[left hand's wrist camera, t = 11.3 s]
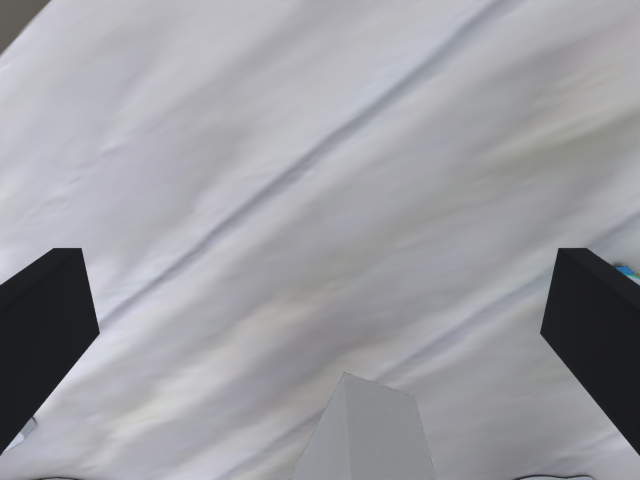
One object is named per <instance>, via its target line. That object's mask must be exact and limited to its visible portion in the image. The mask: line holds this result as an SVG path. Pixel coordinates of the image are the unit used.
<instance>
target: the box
mask: <svg viewBox="0 0 640 480" xmlns="http://www.w3.org/2000/svg"><path fill="white" fill-rule="evenodd" d="M288 480H437V478H436V474H435V471H434V467H433V463H432V460H431V456H430V452H429V449H428V445H427V441H426V438H425V434H424V431H423V427H422V423H421V420H420V416H419V412H418V409H417V405H416V401H415V398H414V396H411V395H408V394H406V393H403V392H400V391H397V390H394V389H391V388H388V387H385V386H382V385H380V384H377V383H374V382H371V381H368V380H365V379H362V378H359V377H356V376H354V375H351V374H348V373H345V372H344V374H343V376H342V378H341V380H340V382H339V383H338V385H337V387H336V389H335V391H334V393H333V395H332V397H331V399H330V401H329V403H328V405H327V406H326V408H325V410H324V412H323V414H322V416H321V418H320V420H319V422H318V424H317V426H316V428H315V429H314V431H313V433H312V435H311V437H310V439H309V441H308V443H307V445H306V447H305V449H304V451H303V452H302V454H301V456H300V458H299V460H298V462H297V464H296V466H295V468H294V470H293V472H292V474H291V475H290V477H289V479H288Z"/></svg>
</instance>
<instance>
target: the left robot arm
mask: <svg viewBox="0 0 640 480" xmlns="http://www.w3.org/2000/svg"><path fill="white" fill-rule="evenodd" d="M99 334H100V332H99V327H98V322H97V318H96V313H95V308H94V304H93V299H92V295H91V290H90V285H89V281H88V276H87V271H86V267H85V262H84V258H83V253H82V248H53V249H52V250H50V251H49V252H47V253H46V254H44V255H43V256H42V257H40V258H39V259H37V260H36V261H34V262H33V263H32V264H30V265H29V266H27V267H26V268H24V269H23V270H21V271H20V272H19V273H17V274H16V275H14V276H13V277H11V278H10V279H9V280H7V281H6V282H4V283H3V284H1V285H0V456H1V454H2V453H3V452H4V451H5V449H6V448H7V447H8V446H9V445H10V443H11V442H12V441H13V440H14V438H15V437H16V436H17V435H18V433H19V432H20V431H21V430H22V429H23V427H24V426H25V425H26V424H27V422H28V421H29V420H30V419H31V417H32V416H33V415H34V414H35V413H36V411H37V410H38V409H39V408H40V406H41V405H42V404H43V403H44V401H45V400H46V399H47V398H48V397H49V395H50V394H51V393H52V392H53V390H54V389H55V388H56V387H57V386H58V384H59V383H60V382H61V381H62V379H63V378H64V377H65V376H66V374H67V373H68V372H69V371H70V370H71V368H72V367H73V366H74V365H75V363H76V362H77V361H78V360H79V358H80V357H81V356H82V355H83V354H84V352H85V351H86V350H87V349H88V347H89V346H90V345H91V344H92V342H93V341H94V340H95V339H96V338H97V336H98V335H99ZM540 334H541V335H542V336H543V338H544V339H545V340H546V341H547V342H548V344H549V345H550V346H551V347H552V349H553V350H554V351H555V352H556V354H557V355H558V356H559V357H560V358H561V360H562V361H563V362H564V363H565V365H566V366H567V367H568V368H569V370H570V371H571V372H572V373H573V374H574V376H575V377H576V378H577V379H578V381H579V382H580V383H581V384H582V386H583V387H584V388H585V389H586V390H587V392H588V393H589V394H590V395H591V397H592V398H593V399H594V400H595V401H596V403H597V404H598V405H599V406H600V408H601V409H602V410H603V411H604V413H605V414H606V415H607V416H608V417H609V419H610V420H611V421H612V422H613V424H614V425H615V426H616V427H617V429H618V430H619V431H620V432H621V433H622V435H623V436H624V437H625V438H626V440H627V441H628V442H629V443H630V445H631V446H632V447H633V448H634V449H635V451H636V452H637V453H638V454H639V456H640V285H639V284H637V283H636V282H634V281H633V280H631V279H630V278H629V277H627V276H626V275H624V274H623V273H621V272H620V271H618V270H617V269H616V268H614V267H613V266H611V265H610V264H608V263H607V262H606V261H604V260H603V259H601V258H600V257H598V256H597V255H596V254H594V253H593V252H591V251H590V250H588V249H587V248H558V253H557V258H556V262H555V267H554V271H553V276H552V281H551V285H550V290H549V295H548V299H547V304H546V308H545V313H544V318H543V322H542V327H541V332H540Z"/></svg>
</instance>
